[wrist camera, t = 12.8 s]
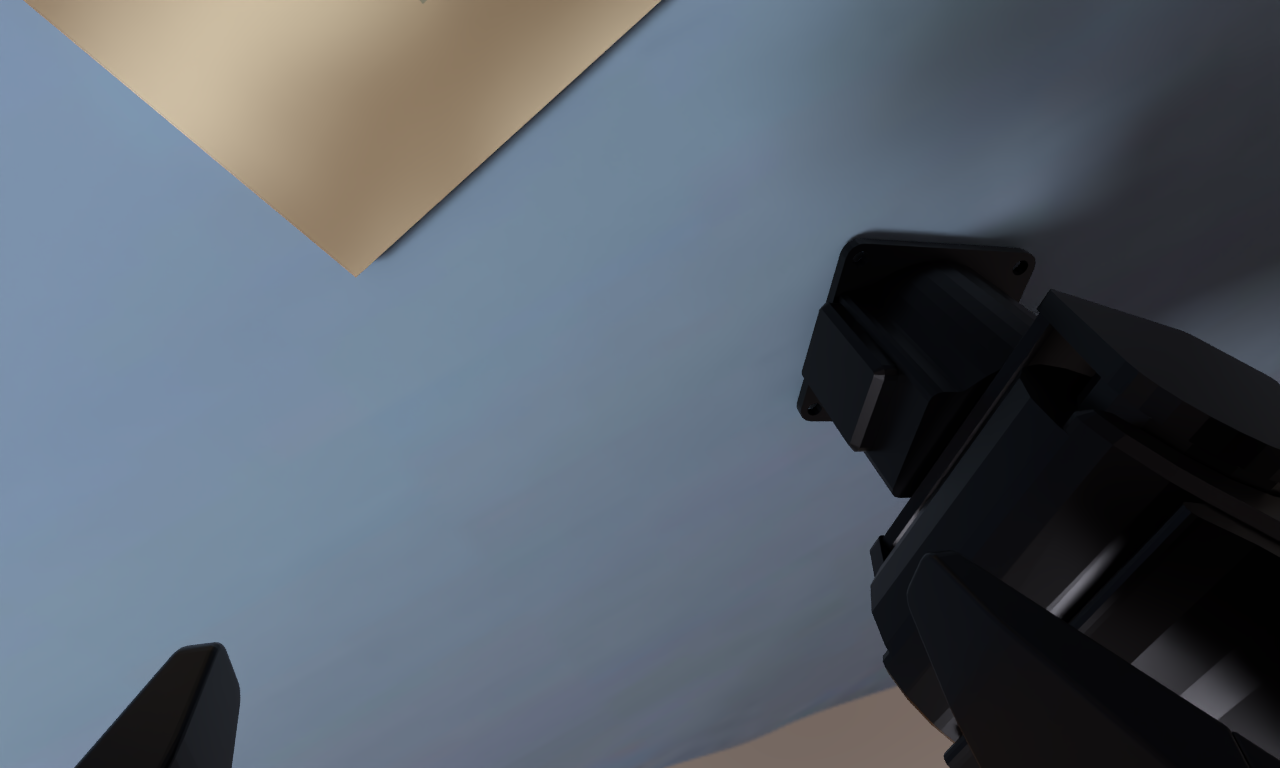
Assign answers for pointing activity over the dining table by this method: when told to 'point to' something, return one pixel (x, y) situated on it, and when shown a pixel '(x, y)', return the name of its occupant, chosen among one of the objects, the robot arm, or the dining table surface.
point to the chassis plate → (346, 92)
